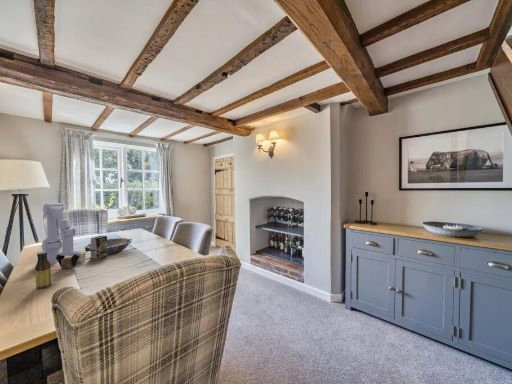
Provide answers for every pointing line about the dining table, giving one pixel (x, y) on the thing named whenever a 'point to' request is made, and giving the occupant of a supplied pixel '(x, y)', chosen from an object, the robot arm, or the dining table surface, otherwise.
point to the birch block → (81, 258)
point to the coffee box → (98, 246)
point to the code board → (72, 268)
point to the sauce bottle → (42, 271)
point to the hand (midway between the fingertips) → (68, 266)
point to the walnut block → (66, 263)
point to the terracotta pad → (55, 268)
